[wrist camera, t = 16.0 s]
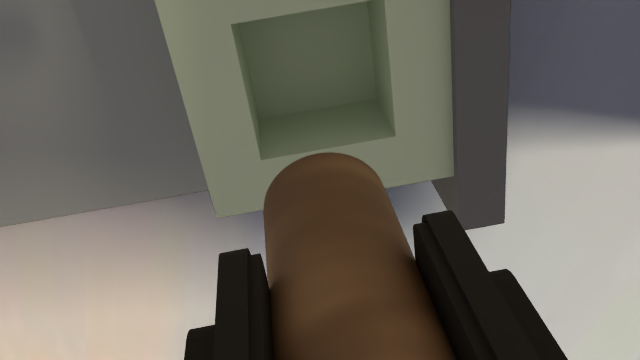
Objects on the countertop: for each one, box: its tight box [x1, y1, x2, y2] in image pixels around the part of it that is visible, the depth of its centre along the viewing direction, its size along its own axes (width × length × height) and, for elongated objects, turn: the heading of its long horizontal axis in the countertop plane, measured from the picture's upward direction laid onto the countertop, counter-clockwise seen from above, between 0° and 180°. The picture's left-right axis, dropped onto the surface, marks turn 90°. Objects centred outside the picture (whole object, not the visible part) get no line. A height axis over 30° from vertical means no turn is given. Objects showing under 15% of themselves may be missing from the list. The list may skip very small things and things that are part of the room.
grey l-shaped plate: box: [0, 0, 511, 230], centre depth 23 cm, size 25×15×6 cm, turn 98°
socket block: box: [155, 0, 454, 218], centre depth 23 cm, size 10×10×5 cm
